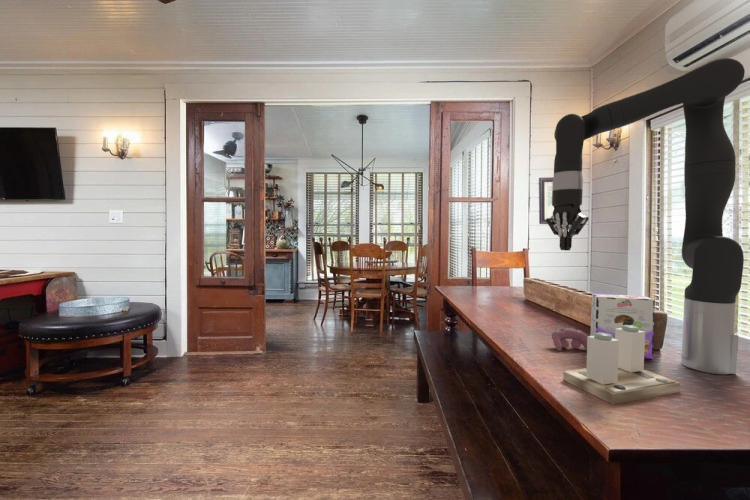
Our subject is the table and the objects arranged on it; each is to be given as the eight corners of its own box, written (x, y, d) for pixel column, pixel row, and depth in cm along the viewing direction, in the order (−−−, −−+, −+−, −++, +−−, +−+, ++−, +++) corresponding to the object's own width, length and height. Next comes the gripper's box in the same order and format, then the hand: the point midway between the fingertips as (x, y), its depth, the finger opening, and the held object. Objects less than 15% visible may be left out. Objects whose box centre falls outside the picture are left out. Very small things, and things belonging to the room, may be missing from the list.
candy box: (644, 352, 98) (647, 295, 98) (653, 359, 93) (656, 299, 92) (589, 347, 103) (591, 292, 102) (594, 353, 97) (596, 295, 97)
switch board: (563, 379, 80) (563, 369, 80) (624, 370, 85) (624, 361, 85) (613, 404, 68) (613, 392, 68) (679, 391, 74) (680, 380, 74)
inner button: (613, 366, 82) (615, 325, 82) (626, 364, 83) (628, 324, 83) (630, 372, 78) (632, 329, 78) (643, 370, 80) (645, 328, 79)
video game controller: (586, 354, 102) (582, 330, 105) (594, 352, 98) (589, 327, 100) (551, 352, 103) (548, 329, 105) (558, 350, 98) (554, 326, 101)
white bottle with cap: (586, 377, 76) (587, 332, 75) (600, 374, 77) (601, 331, 76) (603, 384, 72) (604, 338, 71) (617, 382, 73) (619, 336, 73)
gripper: (598, 186, 93) (596, 251, 94) (559, 192, 105) (557, 249, 106) (576, 185, 91) (574, 251, 91) (538, 191, 103) (537, 249, 104)
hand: (565, 250), depth 99 cm, fingers closed
